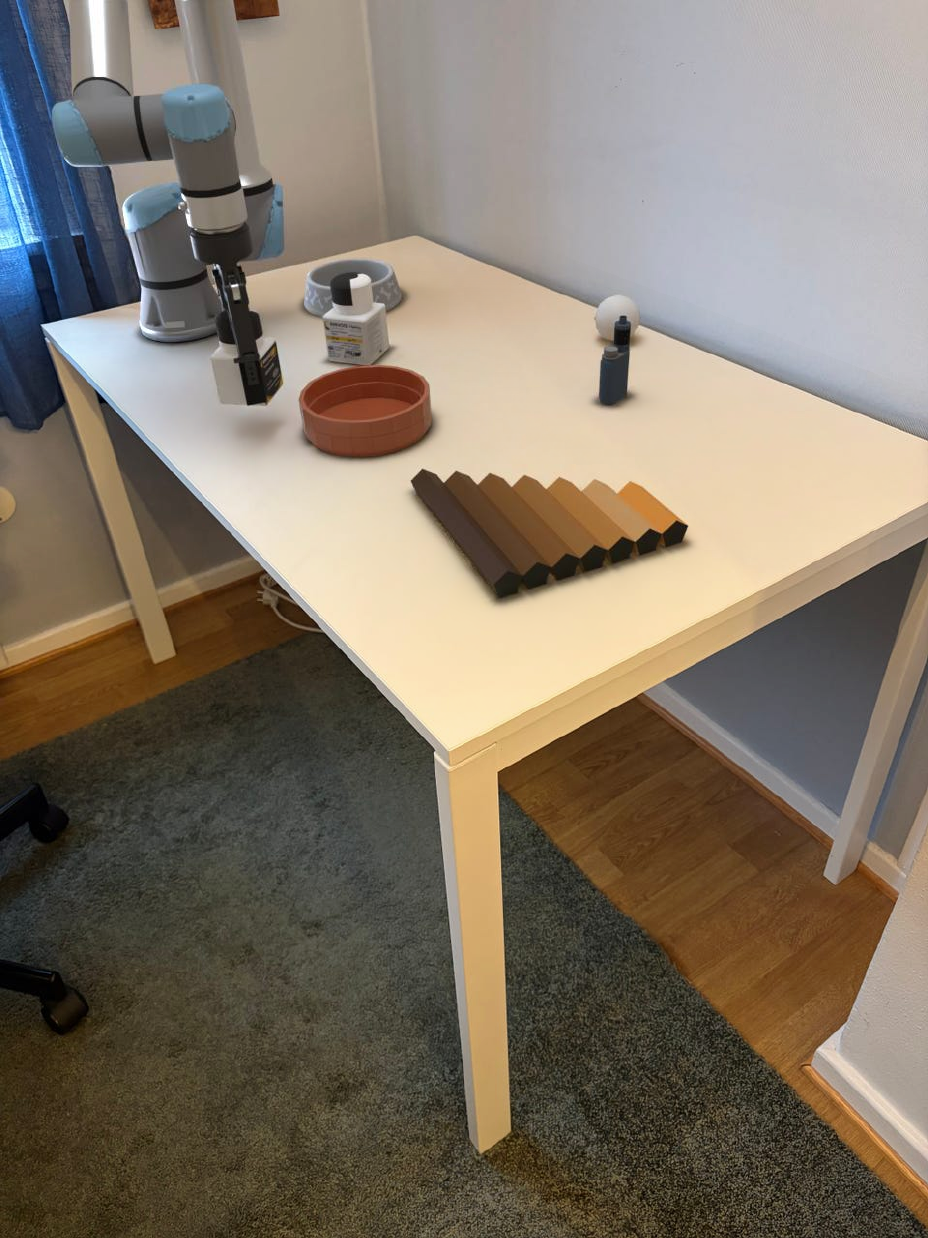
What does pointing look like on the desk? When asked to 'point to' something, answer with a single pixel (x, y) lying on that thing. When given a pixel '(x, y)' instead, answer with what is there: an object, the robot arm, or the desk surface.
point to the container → (355, 321)
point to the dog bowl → (321, 276)
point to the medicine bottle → (229, 372)
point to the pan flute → (545, 525)
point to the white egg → (616, 315)
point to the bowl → (366, 410)
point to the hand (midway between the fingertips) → (251, 387)
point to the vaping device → (615, 364)
